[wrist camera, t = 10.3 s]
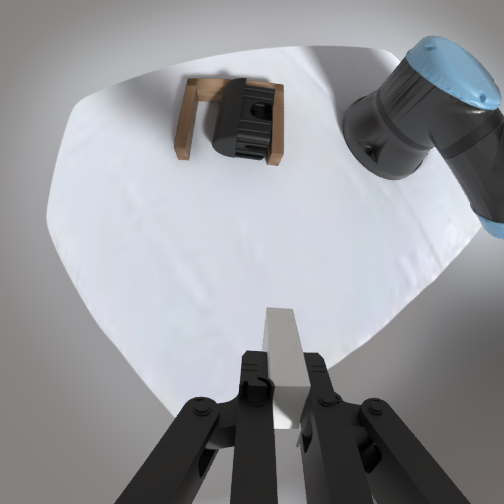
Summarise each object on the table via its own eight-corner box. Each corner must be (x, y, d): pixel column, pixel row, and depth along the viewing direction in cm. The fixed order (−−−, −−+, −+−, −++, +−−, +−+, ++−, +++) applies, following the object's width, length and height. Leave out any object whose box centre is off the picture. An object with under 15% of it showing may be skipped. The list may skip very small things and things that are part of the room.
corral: (278, 99, 39) (283, 84, 35) (277, 165, 38) (283, 154, 34) (190, 93, 38) (187, 78, 34) (178, 159, 36) (173, 147, 33)
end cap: (223, 102, 38) (223, 75, 31) (269, 108, 39) (276, 81, 32) (212, 157, 37) (210, 134, 30) (262, 164, 38) (270, 142, 31)
